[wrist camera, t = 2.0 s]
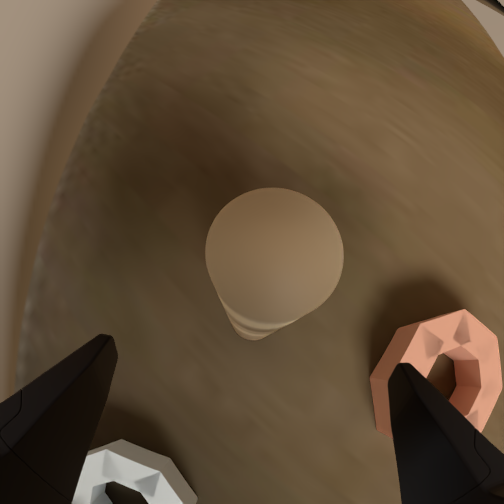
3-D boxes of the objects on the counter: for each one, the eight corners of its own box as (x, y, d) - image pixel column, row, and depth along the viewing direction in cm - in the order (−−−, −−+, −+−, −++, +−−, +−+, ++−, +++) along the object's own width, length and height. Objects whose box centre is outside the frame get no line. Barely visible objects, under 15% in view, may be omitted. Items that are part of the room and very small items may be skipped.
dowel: (257, 349, 19) (293, 349, 5) (223, 324, 19) (177, 264, 6) (282, 314, 19) (366, 236, 6) (248, 290, 20) (258, 165, 6)
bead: (180, 552, 14) (174, 571, 11) (76, 509, 14) (60, 522, 12) (206, 469, 16) (201, 485, 14) (90, 424, 17) (72, 431, 14)
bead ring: (435, 461, 16) (458, 471, 13) (346, 412, 18) (363, 421, 15) (490, 355, 18) (515, 353, 16) (414, 295, 20) (437, 286, 17)
